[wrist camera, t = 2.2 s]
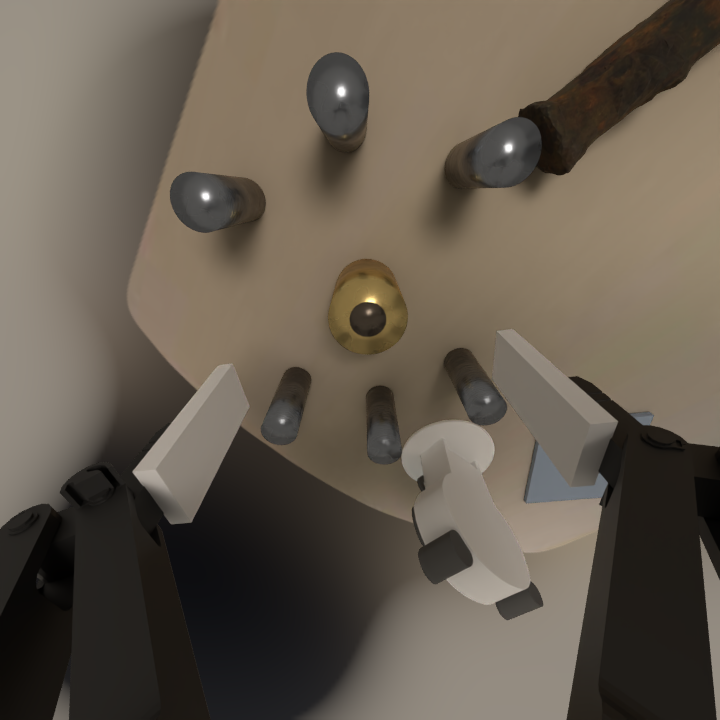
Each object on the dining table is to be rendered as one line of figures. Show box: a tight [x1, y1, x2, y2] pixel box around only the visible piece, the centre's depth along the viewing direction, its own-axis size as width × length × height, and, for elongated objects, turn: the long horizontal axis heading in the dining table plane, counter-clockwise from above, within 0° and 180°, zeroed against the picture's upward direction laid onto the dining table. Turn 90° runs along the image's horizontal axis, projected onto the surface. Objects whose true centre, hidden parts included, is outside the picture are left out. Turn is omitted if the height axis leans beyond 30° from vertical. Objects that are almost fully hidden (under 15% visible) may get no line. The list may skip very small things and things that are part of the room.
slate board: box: [524, 412, 654, 503], centre depth 37 cm, size 12×14×1 cm
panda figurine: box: [401, 419, 543, 620], centre depth 31 cm, size 12×11×15 cm
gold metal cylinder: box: [328, 259, 408, 355], centre depth 24 cm, size 6×6×7 cm
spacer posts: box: [170, 52, 542, 464], centre depth 24 cm, size 20×27×8 cm
